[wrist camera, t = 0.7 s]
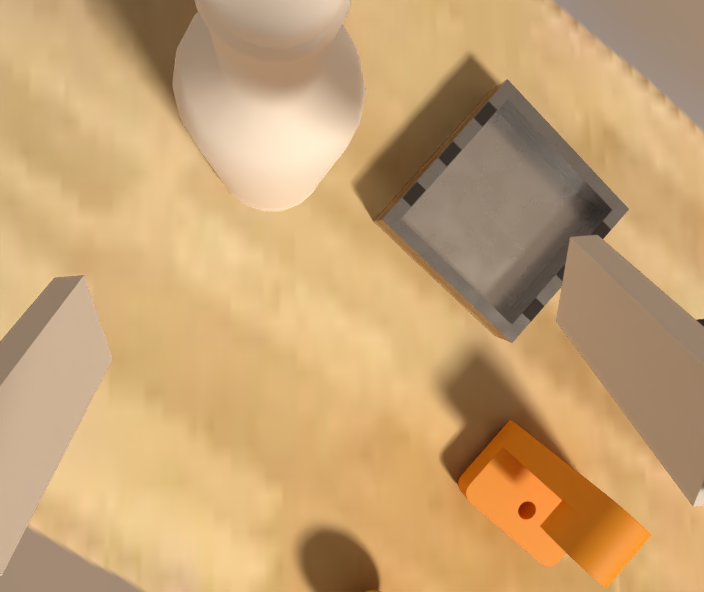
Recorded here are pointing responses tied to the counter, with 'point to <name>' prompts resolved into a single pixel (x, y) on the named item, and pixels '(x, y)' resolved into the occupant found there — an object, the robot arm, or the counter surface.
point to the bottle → (269, 94)
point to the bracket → (550, 506)
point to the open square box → (500, 212)
